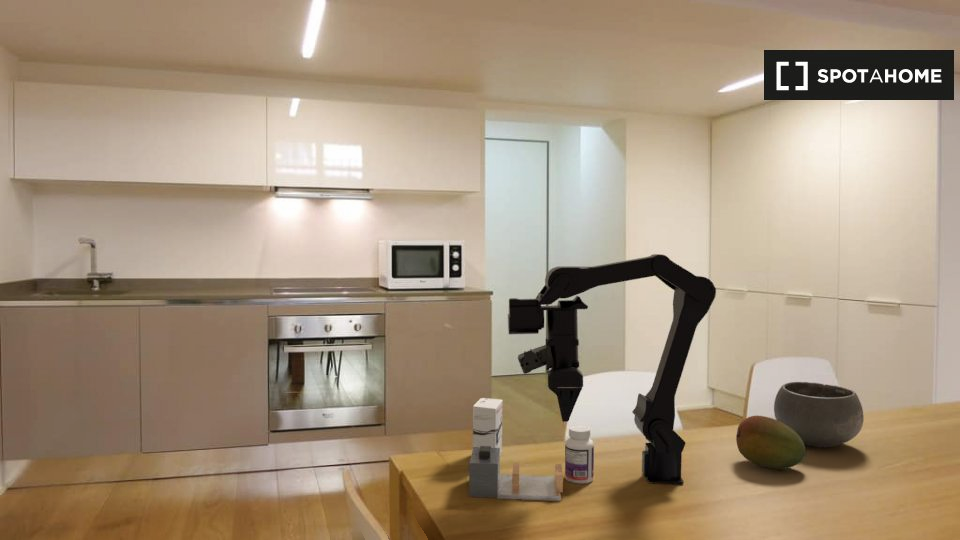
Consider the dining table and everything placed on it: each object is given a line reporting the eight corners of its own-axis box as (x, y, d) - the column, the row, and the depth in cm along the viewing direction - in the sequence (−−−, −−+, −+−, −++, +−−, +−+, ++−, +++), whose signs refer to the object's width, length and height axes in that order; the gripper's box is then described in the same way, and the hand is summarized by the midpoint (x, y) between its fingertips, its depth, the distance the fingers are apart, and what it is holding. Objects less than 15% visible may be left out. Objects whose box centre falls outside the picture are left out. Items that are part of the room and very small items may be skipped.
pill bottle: (576, 472, 129) (577, 422, 128) (599, 479, 125) (600, 428, 124) (558, 478, 125) (559, 428, 124) (581, 486, 121) (581, 434, 120)
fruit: (731, 454, 140) (732, 408, 139) (795, 459, 137) (796, 411, 137) (741, 473, 128) (743, 423, 128) (811, 478, 126) (812, 427, 125)
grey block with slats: (560, 480, 124) (560, 442, 124) (563, 501, 114) (563, 460, 114) (473, 477, 125) (473, 440, 125) (468, 497, 115) (469, 457, 115)
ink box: (495, 466, 131) (496, 408, 131) (471, 464, 132) (471, 406, 132) (502, 453, 140) (503, 398, 139) (479, 451, 141) (480, 397, 140)
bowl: (864, 440, 150) (866, 385, 150) (860, 462, 135) (862, 401, 135) (779, 428, 160) (780, 376, 159) (767, 447, 145) (768, 390, 144)
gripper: (520, 327, 134) (522, 402, 135) (518, 341, 116) (520, 429, 116) (575, 326, 133) (577, 402, 134) (582, 340, 115) (584, 428, 115)
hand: (564, 414), depth 125 cm, fingers open, 9 cm apart
